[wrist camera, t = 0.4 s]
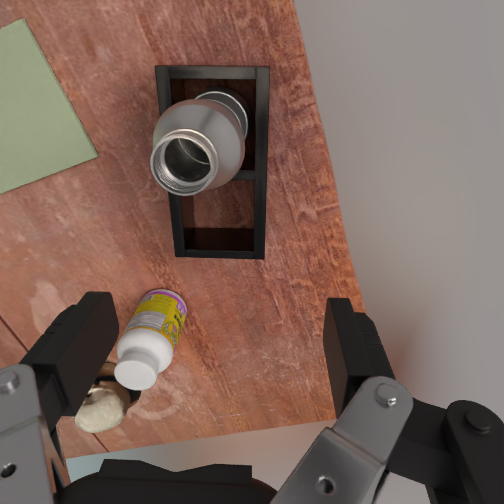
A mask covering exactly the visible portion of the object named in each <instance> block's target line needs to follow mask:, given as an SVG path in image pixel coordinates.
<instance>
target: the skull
mask: <svg viewBox="0 0 504 504" xmlns="http://www.w3.org/2000/svg"><path fill="white" fill-rule="evenodd" d="M115 367H116V365H115V364H111V363H106V362H105V363H104V365H103V367H102V368H101V370H100V372H99V374H98V376H97V378H96V380H95V381H94V383H93V385H92V387H91V389H90V391H89V392H88V394H87V396H86V398H85V400H84V402H83V404H82V405H81V407H80V409H79V411H78V413H77V415H76V416H75V417H74V416H72V417H73V418H75V423H76V425H77V426H78V427H79V428H81V429H82V430H84V431H86V432H90V433H97V432H101V431H105V430H107V429H110V428H113V427H114V426H116V425H118V424H119V423H121V422H122V420H123V418H124V417H125V415H126V413H127V410H128V409H129V408H130V407H132V406H133V405H134V404H135V403H136V402H137V401H138V400H139V397H140V394H141V390H132V389H129V388H126V387H124V386H123V385H121V384H120V383H119V382H118V381H117V380H116V378H115V375H114V370H115Z"/></svg>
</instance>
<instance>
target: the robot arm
mask: <svg viewBox="0 0 504 504" xmlns="http://www.w3.org/2000/svg"><path fill="white" fill-rule="evenodd" d="M118 334H119V323H118V319H117V314H116V310H115V306H114V302H113V298H112V295H111V293H110V292H92V291H89V292H87V293H86V294H85V295H84V296H83V297H82V299H81V300H80V301H79V302H78V304H77V305H71V306H70V307H68V308H67V309H65V310H64V311H63V312H61V313H60V314H59V315H58V316H57V317H56V319H55V320H54V321H53V322H52V323H51V326H49V327H48V328H47V330H46V331H45V333H44V334H42V336H41V337H40V338H39V339H38V341H37V342H36V343H35V344H34V345H33V347H32V348H31V349H30V350H29V351H28V353H27V354H26V355H25V356H24V358H23V359H22V360H21V361H20V362H19V364H16V365H11V366H7V367H5V368H2V369H0V504H376V503H377V501H378V499H379V496H380V494H381V492H382V490H383V488H384V486H385V484H386V481H387V480H388V478H389V476H390V474H391V472H392V473H395V474H398V475H400V476H403V477H406V478H408V479H411V480H414V481H416V482H419V483H422V484H424V485H425V487H426V490H427V493H428V497H429V499H430V503H431V504H504V423H503V422H502V420H501V419H500V418H499V417H498V416H497V415H496V414H495V413H493V412H492V411H491V410H489V409H488V408H486V407H485V406H482V405H480V404H478V403H476V402H472V401H466V400H459V401H455V402H453V403H451V404H450V405H449V406H448V408H447V409H444V408H440V407H437V406H434V405H430V404H427V403H424V402H421V401H419V400H417V399H415V398H413V397H412V396H411V394H410V392H409V391H408V390H407V388H405V386H404V385H402V384H401V383H400V382H398V381H396V379H395V376H394V374H393V371H392V369H391V366H390V363H389V361H388V359H387V356H386V353H385V350H384V348H383V345H382V344H381V340H380V338H379V336H378V332H377V330H376V327H375V325H374V322H373V321H372V320H371V319H370V318H369V317H368V316H367V315H366V314H365V313H359V312H354V311H353V308H352V305H351V302H350V299H349V298H328V299H327V304H326V312H325V320H324V329H323V346H324V352H325V357H326V363H327V368H328V374H329V379H330V385H331V390H332V396H333V401H334V407H335V412H336V418H337V421H336V423H335V424H334V425H333V427H332V428H329V427H325V428H324V429H323V430H322V431H321V432H320V434H319V435H318V436H317V438H316V439H315V441H314V442H313V443H312V445H311V446H310V448H309V449H308V451H307V452H306V453H305V455H304V456H303V458H302V459H301V460H300V462H299V463H298V465H297V466H296V467H295V469H294V470H293V472H292V473H291V474H290V476H289V477H288V478H287V480H286V481H285V483H284V484H283V485H282V487H281V488H280V490H279V491H276V490H275V489H274V488H272V487H271V486H269V485H267V484H266V483H264V482H262V481H260V480H257V479H254V478H252V466H251V465H229V464H228V465H227V464H212V465H207V466H203V467H198V468H194V469H189V470H185V471H180V472H172V471H169V470H166V469H163V468H160V467H157V466H154V465H151V464H149V463H146V462H143V461H140V460H117V459H104V461H103V463H102V466H101V468H100V471H99V472H96V473H93V474H90V475H87V476H85V477H82V478H80V479H78V480H76V481H74V482H72V483H71V481H70V477H69V474H68V469H67V465H66V460H65V456H64V452H63V447H62V443H61V438H60V434H59V430H58V427H57V425H56V424H57V422H58V421H59V419H60V417H61V416H74V417H75V416H76V415H77V413H78V411H79V409H80V407H81V405H82V404H83V402H84V400H85V398H86V396H87V394H88V392H89V391H90V389H91V387H92V385H93V383H94V381H95V380H96V378H97V376H98V374H99V372H100V370H101V368H102V367H103V365H104V363H105V361H106V359H107V357H108V356H109V354H110V352H111V350H112V348H113V346H114V345H115V343H116V341H117V338H118Z"/></svg>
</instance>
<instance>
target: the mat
mask: <svg viewBox="0 0 504 504" xmlns="http://www.w3.org/2000/svg"><path fill="white" fill-rule="evenodd" d="M98 156H99V154H98V153H97V151H96V149H95V147H94V145H93V144H92V142H91V140H90V138H89V136H88V134H87V133H86V131H85V129H84V127H83V125H82V123H81V122H80V120H79V118H78V116H77V114H76V112H75V111H74V109H73V107H72V105H71V103H70V101H69V100H68V98H67V96H66V94H65V92H64V90H63V89H62V87H61V85H60V83H59V81H58V79H57V78H56V76H55V74H54V72H53V70H52V69H51V67H50V65H49V63H48V61H47V59H46V58H45V56H44V54H43V52H42V50H41V48H40V47H39V45H38V43H37V41H36V39H35V37H34V36H33V34H32V32H31V30H30V28H29V26H28V25H27V23H26V21H25V19H19V20H17V21H15V22H13V23H11V24H9V25H7V26H5V27H3V28H1V29H0V194H2V193H4V192H7V191H9V190H12V189H15V188H17V187H20V186H23V185H25V184H28V183H30V182H33V181H36V180H38V179H41V178H44V177H46V176H49V175H51V174H54V173H57V172H59V171H62V170H65V169H67V168H70V167H72V166H75V165H78V164H80V163H83V162H85V161H88V160H91V159H93V158H96V157H98Z"/></svg>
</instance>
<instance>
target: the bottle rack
mask: <svg viewBox="0 0 504 504" xmlns="http://www.w3.org/2000/svg"><path fill="white" fill-rule="evenodd" d="M155 74H156V83H157V93H158V102H159V111H160V117H161V115H162V114H163V113H164V112H165V111H166V110H167V109H168V108H169V107H171V106H173V105H174V104H176V103H178V102H181V101H185V100H186V99H185V86H184V79H250V80H255V79H256V110H255V156H244V160H243V163H242V166H241V167H240V169H239V171H238V173H237V174H236V175H235V176H234V177H233V178H232V179H231V180H255V192H254V229H234V228H195V220H194V206H193V195H189V196H182V195H176V194H173V193H171V192H169V191H168V194H169V203H170V212H171V221H172V231H173V240H174V249H175V257H196V258H230V259H262V260H264V258H265V223H266V189H267V154H268V120H269V85H270V66H233V65H157V66H155Z"/></svg>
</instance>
